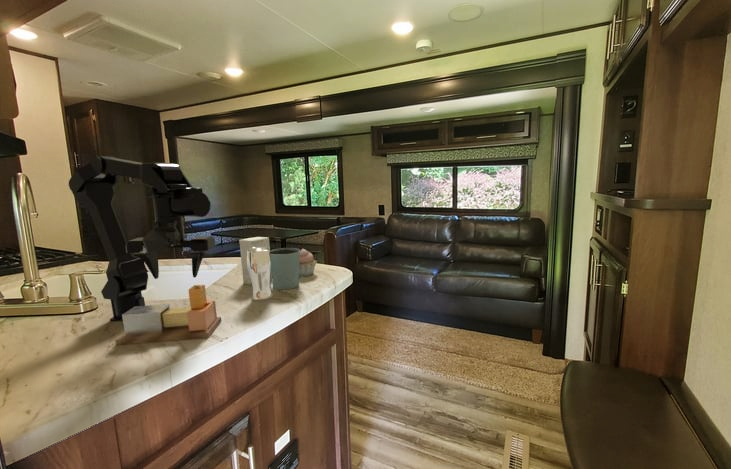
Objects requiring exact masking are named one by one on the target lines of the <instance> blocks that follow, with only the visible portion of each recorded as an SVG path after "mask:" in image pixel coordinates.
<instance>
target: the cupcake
mask: <svg viewBox="0 0 731 469" xmlns="http://www.w3.org/2000/svg"><path fill="white" fill-rule="evenodd" d="M317 263H318V261H317V260H315V258H314V255H313V253H311V252H309V251H308V250H306V249H304V248H302V249H301V250H300V259H299V278H301V277H302V278H304V277H305V278H306V277H311V276H313V275H314V272H315V268H316V265H317Z"/></svg>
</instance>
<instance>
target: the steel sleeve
mask: <svg viewBox="0 0 731 469" xmlns="http://www.w3.org/2000/svg"><path fill="white" fill-rule="evenodd" d="M165 309H171V307H170V304H168V303H166V304H152V305H145V306H136V307H133V308H132V309H130V310H129V311H127V312H126V313H124V314H122V319H123V320H122V323H123V328H124V329H123V330H124V333H125V335H138V334H151V333H162V332H163V331H164V330H165V329H167V328H168V327H162V321H161V315H160V313H162V312H163V311H164V310H165Z"/></svg>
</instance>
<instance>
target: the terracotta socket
mask: <svg viewBox="0 0 731 469" xmlns="http://www.w3.org/2000/svg"><path fill="white" fill-rule="evenodd" d="M187 317H188V324H189V331H198V330H204V331H207V330H208V329H209V328H210V327H211V326H212V324H213V323H214V322H215V321H216V319H217V317H218V315H217V307H216V301H215V300H207V307H206V308H205V309H203V310H189V311H188V312H187Z"/></svg>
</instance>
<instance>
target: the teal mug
mask: <svg viewBox="0 0 731 469" xmlns="http://www.w3.org/2000/svg"><path fill="white" fill-rule="evenodd" d="M300 251H301V250H300V248H294V247H283V248H282V247H281V248H276V249H275V248H274V249H272V250H271V249H270V255H271V263H272V270H271V275H272V280H271V284H272V288H273V289H274V290H276V291H277V290H281V291H285V290H291V289H294V288H297V287H299V285H300V277H299V259H300Z"/></svg>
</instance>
